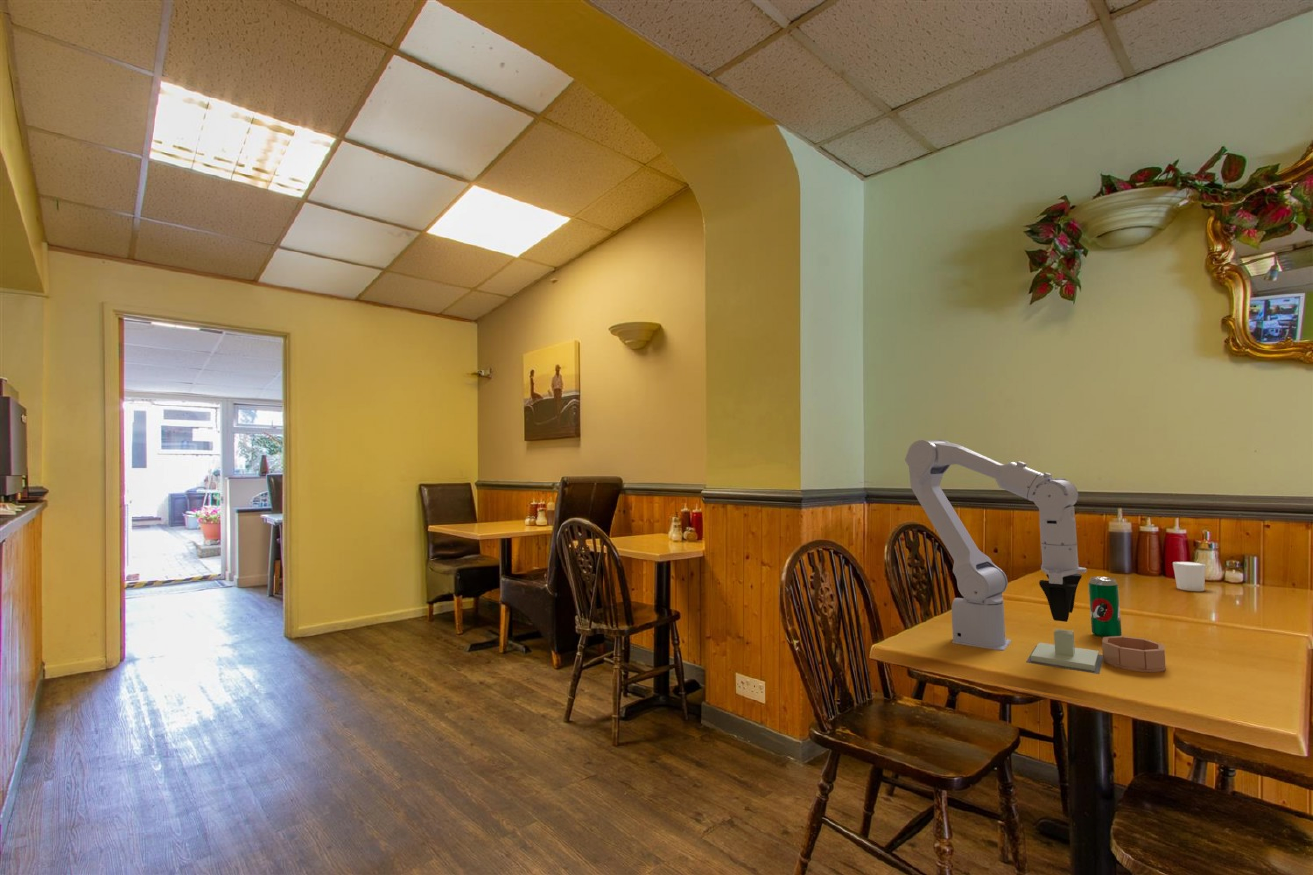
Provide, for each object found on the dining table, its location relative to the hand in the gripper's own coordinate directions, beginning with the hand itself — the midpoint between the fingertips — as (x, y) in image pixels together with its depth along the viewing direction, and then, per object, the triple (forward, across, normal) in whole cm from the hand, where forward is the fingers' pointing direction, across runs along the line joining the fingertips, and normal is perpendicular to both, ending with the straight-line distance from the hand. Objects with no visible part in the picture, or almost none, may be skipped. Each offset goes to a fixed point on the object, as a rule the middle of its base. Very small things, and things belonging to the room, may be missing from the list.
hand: (1063, 616), depth 114 cm
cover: (+8, 0, 0) cm, 8 cm away
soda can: (+8, +22, -5) cm, 24 cm away
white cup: (+8, +85, -20) cm, 88 cm away
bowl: (+8, +4, -10) cm, 13 cm away
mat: (+8, 0, 0) cm, 8 cm away
